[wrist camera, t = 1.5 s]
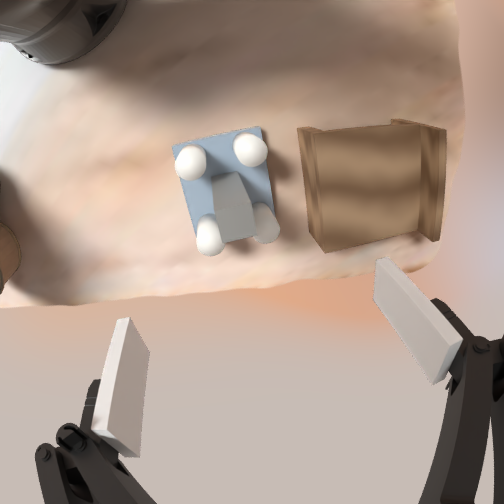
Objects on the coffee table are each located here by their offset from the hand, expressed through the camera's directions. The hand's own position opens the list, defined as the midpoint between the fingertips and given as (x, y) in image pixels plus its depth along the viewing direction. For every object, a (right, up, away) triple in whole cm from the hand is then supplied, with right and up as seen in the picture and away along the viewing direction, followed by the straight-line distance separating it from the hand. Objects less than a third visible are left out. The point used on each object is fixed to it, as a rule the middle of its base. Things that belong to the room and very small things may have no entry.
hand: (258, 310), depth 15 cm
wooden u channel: (+13, +13, +22) cm, 29 cm away
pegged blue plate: (-4, +11, +20) cm, 23 cm away
